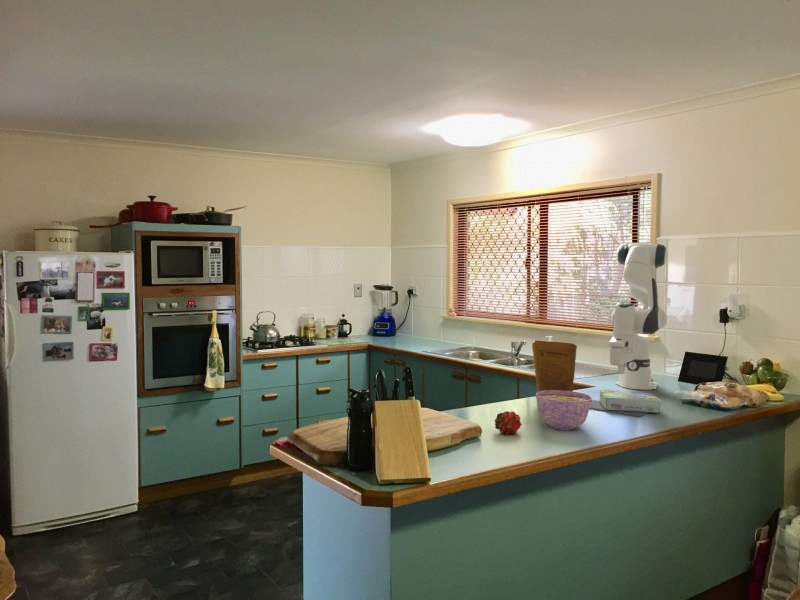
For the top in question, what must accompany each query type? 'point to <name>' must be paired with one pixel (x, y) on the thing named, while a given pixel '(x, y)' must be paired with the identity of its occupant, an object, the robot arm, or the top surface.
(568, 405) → the bowl of food
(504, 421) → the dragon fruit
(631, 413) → the charcoal rubber mat
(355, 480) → the top surface
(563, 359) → the pancake mix bag
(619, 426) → the top surface
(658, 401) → the snack box
